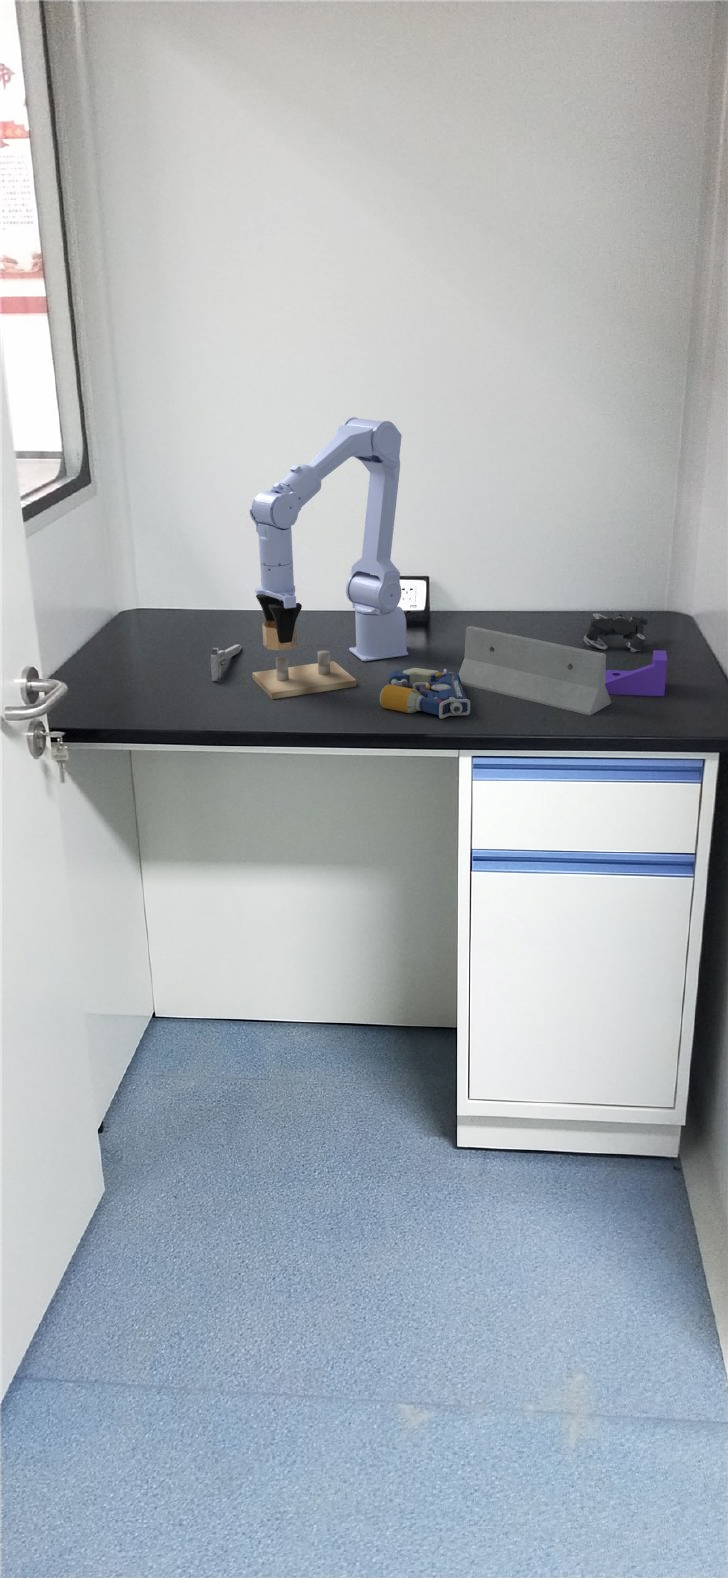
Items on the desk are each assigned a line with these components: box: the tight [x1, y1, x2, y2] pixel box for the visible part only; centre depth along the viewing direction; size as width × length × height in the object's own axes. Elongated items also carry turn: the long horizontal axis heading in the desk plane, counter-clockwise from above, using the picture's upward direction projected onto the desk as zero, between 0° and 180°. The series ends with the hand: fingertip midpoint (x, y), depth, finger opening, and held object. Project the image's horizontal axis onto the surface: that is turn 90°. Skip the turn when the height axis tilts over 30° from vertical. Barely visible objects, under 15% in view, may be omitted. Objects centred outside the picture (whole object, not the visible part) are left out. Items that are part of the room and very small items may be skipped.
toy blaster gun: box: [379, 667, 471, 720], centre depth 205 cm, size 21×4×15 cm
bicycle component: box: [583, 613, 649, 653], centre depth 233 cm, size 12×7×15 cm
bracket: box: [605, 649, 668, 697], centre depth 208 cm, size 12×7×7 cm, turn 80°
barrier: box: [457, 625, 612, 716], centre depth 206 cm, size 28×7×10 cm, turn 50°
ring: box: [261, 620, 298, 651], centre depth 211 cm, size 6×6×4 cm
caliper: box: [210, 644, 243, 682], centre depth 225 cm, size 20×1×6 cm, turn 173°
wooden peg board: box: [251, 650, 357, 700], centre depth 214 cm, size 16×12×5 cm
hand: (280, 637), depth 211 cm, fingers closed on ring, 6 cm apart
